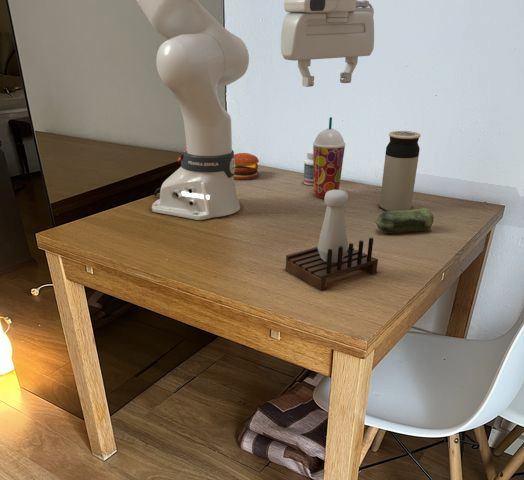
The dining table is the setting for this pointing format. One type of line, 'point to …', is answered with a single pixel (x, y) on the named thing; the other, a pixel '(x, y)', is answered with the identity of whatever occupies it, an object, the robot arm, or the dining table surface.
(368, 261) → the drying rack
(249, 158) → the hamburger
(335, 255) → the salt shaker
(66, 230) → the dining table surface
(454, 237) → the dining table surface
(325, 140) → the smoothie
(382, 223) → the vegetable
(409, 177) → the travel mug
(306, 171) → the pill bottle
